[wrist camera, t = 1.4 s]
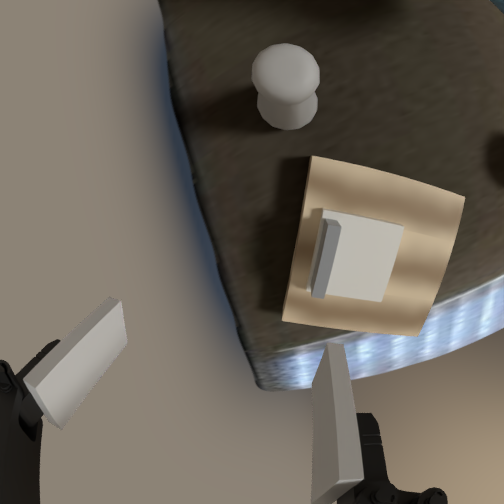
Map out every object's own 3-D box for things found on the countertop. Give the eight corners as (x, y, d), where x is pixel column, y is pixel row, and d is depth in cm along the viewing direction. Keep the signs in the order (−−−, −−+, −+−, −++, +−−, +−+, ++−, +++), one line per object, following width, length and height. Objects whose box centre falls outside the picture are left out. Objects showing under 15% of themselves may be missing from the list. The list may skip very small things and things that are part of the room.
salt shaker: (253, 123, 26) (223, 99, 14) (267, 76, 24) (249, 22, 12) (307, 139, 26) (320, 124, 14) (321, 90, 24) (342, 44, 12)
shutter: (322, 207, 25) (326, 215, 22) (400, 224, 25) (414, 233, 21) (305, 286, 28) (307, 303, 25) (378, 297, 28) (387, 314, 24)
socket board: (310, 156, 27) (312, 155, 24) (452, 193, 25) (465, 197, 22) (283, 307, 33) (281, 320, 30) (410, 323, 31) (417, 336, 29)
